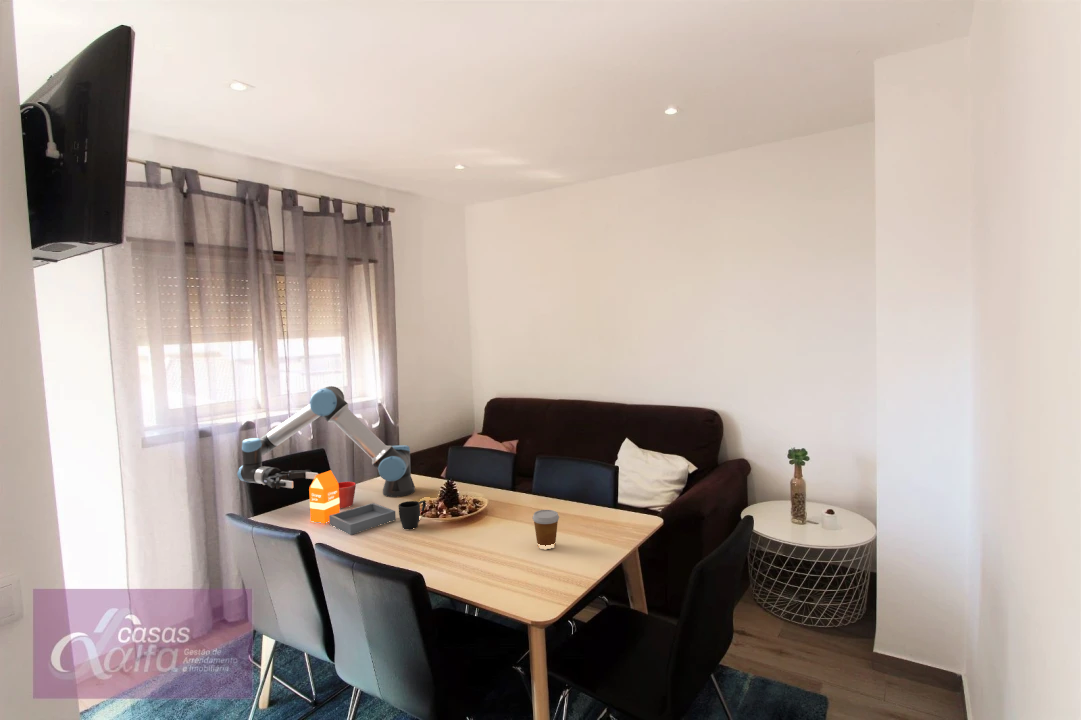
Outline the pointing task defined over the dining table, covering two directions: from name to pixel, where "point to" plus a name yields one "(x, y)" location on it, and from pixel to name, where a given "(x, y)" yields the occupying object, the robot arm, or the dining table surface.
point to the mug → (410, 513)
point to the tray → (361, 518)
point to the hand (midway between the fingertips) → (305, 480)
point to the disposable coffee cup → (545, 526)
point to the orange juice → (324, 497)
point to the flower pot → (346, 494)
